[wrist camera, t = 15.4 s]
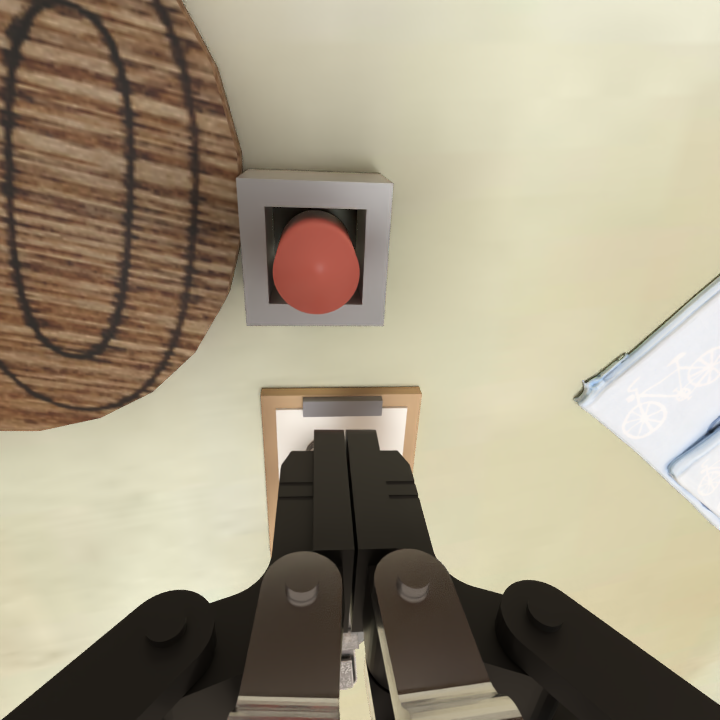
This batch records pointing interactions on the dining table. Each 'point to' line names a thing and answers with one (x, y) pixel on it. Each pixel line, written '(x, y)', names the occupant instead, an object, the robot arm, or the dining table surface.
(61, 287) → the trivet
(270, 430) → the clipboard
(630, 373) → the folded patterned cloth
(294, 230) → the button
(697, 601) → the dining table surface
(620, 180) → the dining table surface
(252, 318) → the button box
